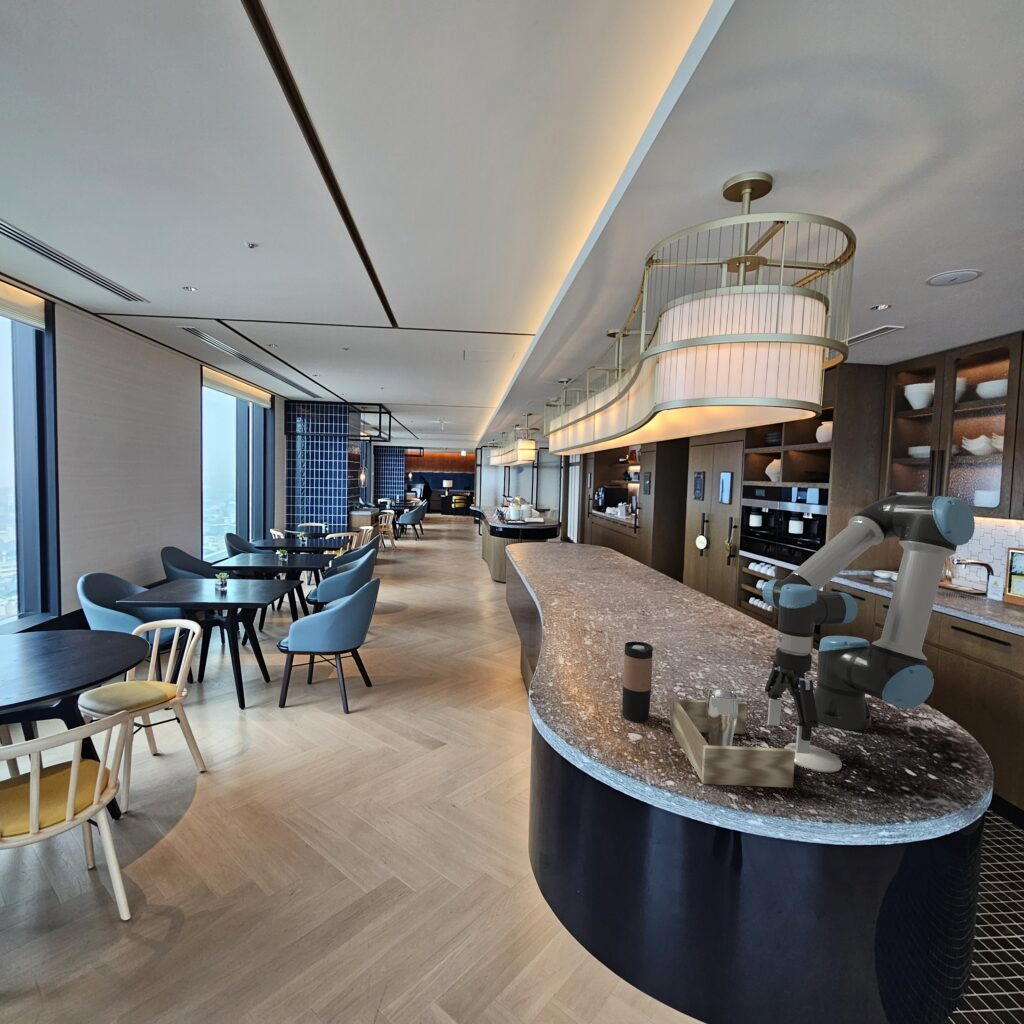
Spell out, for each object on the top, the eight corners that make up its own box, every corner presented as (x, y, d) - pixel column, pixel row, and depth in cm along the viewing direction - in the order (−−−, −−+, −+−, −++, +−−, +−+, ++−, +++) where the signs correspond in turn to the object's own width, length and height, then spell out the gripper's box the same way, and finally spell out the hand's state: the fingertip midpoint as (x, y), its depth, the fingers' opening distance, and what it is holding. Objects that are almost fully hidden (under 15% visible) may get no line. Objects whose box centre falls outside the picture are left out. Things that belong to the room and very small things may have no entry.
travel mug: (629, 708, 151) (632, 639, 150) (654, 716, 146) (657, 645, 145) (616, 716, 145) (619, 645, 144) (642, 725, 140) (645, 652, 139)
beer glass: (703, 758, 124) (707, 696, 123) (704, 745, 131) (707, 686, 130) (735, 765, 122) (739, 702, 121) (734, 751, 128) (738, 691, 127)
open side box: (743, 731, 139) (745, 701, 138) (792, 787, 114) (795, 751, 113) (670, 728, 139) (671, 699, 138) (703, 783, 114) (705, 748, 113)
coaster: (822, 746, 132) (823, 744, 132) (853, 773, 120) (853, 771, 120) (774, 744, 132) (774, 742, 132) (799, 771, 120) (800, 768, 120)
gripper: (754, 634, 137) (748, 713, 138) (806, 668, 112) (798, 765, 113) (783, 635, 137) (777, 715, 138) (842, 670, 112) (833, 766, 113)
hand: (787, 737), depth 126 cm, fingers open, 13 cm apart
